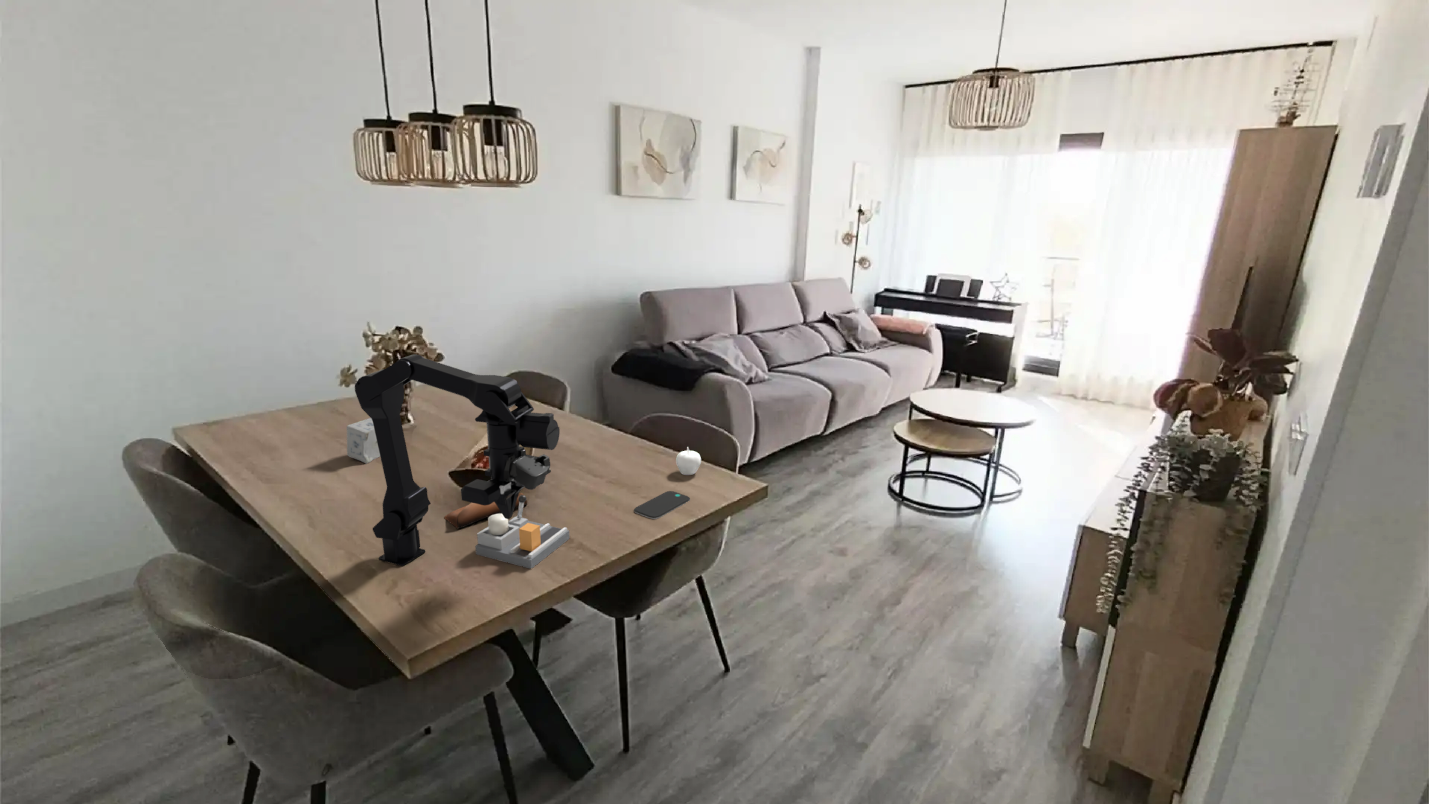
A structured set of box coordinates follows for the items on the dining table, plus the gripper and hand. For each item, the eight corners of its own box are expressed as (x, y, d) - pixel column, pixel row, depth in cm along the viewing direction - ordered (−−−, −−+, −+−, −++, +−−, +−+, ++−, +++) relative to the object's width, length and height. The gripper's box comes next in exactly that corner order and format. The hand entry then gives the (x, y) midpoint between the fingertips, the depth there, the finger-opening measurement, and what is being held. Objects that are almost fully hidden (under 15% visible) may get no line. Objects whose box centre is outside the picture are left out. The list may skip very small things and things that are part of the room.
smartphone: (692, 497, 168) (655, 518, 156) (692, 500, 169) (655, 521, 157) (669, 489, 172) (631, 509, 161) (669, 492, 173) (631, 512, 161)
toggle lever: (519, 519, 147) (523, 495, 147) (513, 517, 148) (517, 494, 148) (524, 518, 149) (528, 495, 149) (518, 517, 150) (522, 494, 150)
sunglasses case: (509, 495, 167) (515, 478, 163) (523, 515, 164) (529, 499, 160) (440, 517, 154) (445, 500, 150) (454, 540, 151) (460, 523, 147)
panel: (531, 568, 134) (530, 549, 133) (475, 554, 139) (474, 535, 138) (569, 538, 147) (569, 520, 145) (517, 525, 151) (516, 508, 150)
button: (500, 536, 138) (499, 523, 137) (484, 532, 139) (483, 520, 138) (512, 528, 141) (511, 515, 140) (497, 524, 143) (496, 512, 142)
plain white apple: (670, 474, 183) (671, 447, 181) (683, 466, 189) (684, 440, 187) (692, 479, 180) (693, 452, 178) (704, 471, 186) (705, 445, 184)
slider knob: (532, 551, 136) (531, 531, 135) (520, 548, 137) (519, 528, 136) (540, 545, 139) (539, 525, 138) (528, 542, 140) (527, 522, 139)
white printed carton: (369, 464, 182) (364, 429, 179) (346, 460, 185) (342, 425, 182) (397, 453, 191) (393, 419, 188) (375, 448, 194) (371, 415, 191)
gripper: (507, 468, 114) (511, 548, 118) (567, 435, 131) (569, 506, 135) (455, 457, 118) (462, 535, 122) (520, 427, 134) (524, 496, 139)
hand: (508, 518), depth 129 cm, fingers closed
